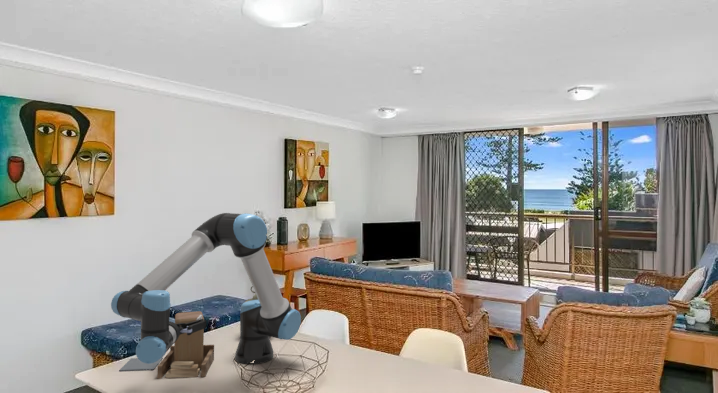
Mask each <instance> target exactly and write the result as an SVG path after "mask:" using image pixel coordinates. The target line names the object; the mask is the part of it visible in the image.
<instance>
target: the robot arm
mask: <svg viewBox="0 0 718 393" xmlns="http://www.w3.org/2000/svg"><path fill="white" fill-rule="evenodd" d="M267 234H268V228H267V225H266V223H265V221H264V220H263V218H262V217H260V216H258V215H256V214H252V213H232V212H222V213H218V214H216V215H214V216H212V217H210V218H209V219H207V220H206V221H204V222H203V223H202V224H201V225H199V226H198V227H197V228H195V230H193V231H192V232H191V237H189V239H187V240H186V241H185V242H184V243H182V244H181V245H180V246H179V247H177V249H175V250H174V251H173V253H171V254H170V255H169V256H168V257H166V258H165V259H164V260H163V261H161V263H159V264H158V265H157V266H156V267H155V268H153V270H151V271H150V272H149V273H148V274H147V275H146V276H144V277H143V278H142V279H141V280H140V281H139V282H137V283H136V284H135V285H134V286H132V287H131V289H128V290H122V291H119V292H117V293H115V295H114V296H113V298H112V299H111V303H110V307H111V310H112V312H113V313H114V314H116V315H117V316H119V317H121V318H127V319H131V320H135V321H137V322H140V340H139V341H138V343H137V345H136V347H135V355H136V356H135V357H136V358H138V359H139V360H140V361H141V362H143V363H146V364H151V363H155V362H157V361H158V360H159V359H161V358H164V356H166V354H167V353H168V351H170V347H171V346H174V343H175V342H176V340H177V339H178V338H179V335H181V334H184V333H187V335H191V334H192V333H194V332H197V331H199V330H202V329H204V330H205V329H206V328H207V320H206V319H204V320H203V319H202V315H200V316H199V317H198V318H197V319H196V321H193V322H189V323H178V324H176V323H175V322H173V321H170V317H171V316H170V315H171V314H170V312H171V307H172V306H171V295H170V294H171V293H170V292H168V290H167V289H168V288H170V287H171V286H172V285H173V284H174V283H175V282H176V281H177V280H178V279H179V278H180V277H182V276H183V275H185V273H186V272H187V271H188V270H189V269H190V268H192V266H194V265H195V264H196V263H197V262H198V261H199V260H200V259H201V258H202V257H203V256H204V255H205V254H207V253H212V252H214V251H215V249H216V248H218V247H221V246H227V247H230V248H231V251H232V253H233V255H234V257H236V258H239V259H241V262H242V265H243V267H244V270H245V271H246V274H247V276H248V278H249V280H250V283H251V287H252V286H253V287H252V289H253V291H254V292H255V293H254V294H256V295H257V297H258V300H252V301H247V302H245V301H244V302H243V303H242V304H241V306H240V314H239V315H240V317H239V320H240V321H239V322H240V324H239V331H240V332H239V333H240V335H239V336H240V337H239V342H238V345H237V347H236V350H235V354H234V357H235V358H234V360H235V361H236V362H238V363H241V364H244V365H245V364H246V365H249V364H248V363H250V362H252V361H253V360H255V361H254V364H253V365H255V364H262V363H267V362H269V361H271V360H272V359H273V358H274V348H273V345H272V342H271V338H275V339H278V340H285V341H288V340H289V341H290V340H291V339H293V338H295V336H296V335H297V333H298V332H299V329H300V327H301V323H302V316H301V313H300V311H298V309H296V308H292V305H291V304H290V302H289V300H288V299H287V298H286V297H283V295H282V292H281V289H280V288H279V285H278V283H277V279H276V277H275V274H274V271H273V269H272V268H271V264H270V262H269V260H268V257H267V254H266V252H265V249H264V248H265V246H266V240H267V238H268V236H267ZM269 336H270V337H271V338H270V337H269Z"/></svg>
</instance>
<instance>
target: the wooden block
mask: <svg viewBox="0 0 718 393" xmlns="http://www.w3.org/2000/svg"><path fill="white" fill-rule="evenodd" d="M200 315H202V319H203V320H205V318H204V315H203V312H202V311H201V310H200V311H188V312H187V311H185V312H178V313H176V314H175V315H174V323H176V324H178V323H189V322H193V321H196V319H197V318H198V317H199V316H200ZM204 330H205V328H204V329H202V330H199V331H197V332H194V333H192V334H191V335H187V333H184V334H181V335H179V338H178V339H177V340H176V342H175V343H174V344H173V346H174V361H190V362H194V364H193V365H196V364H198V368H200V370H201V364H202V363H203V345H204V337H205V336H204V334H205V332H204Z"/></svg>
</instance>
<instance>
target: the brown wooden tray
mask: <svg viewBox="0 0 718 393" xmlns="http://www.w3.org/2000/svg"><path fill="white" fill-rule="evenodd" d="M164 356H165V357H163V359H162V360H161V362H160V363H159V364H158V365H157V376H156V379H157V380H158V379H159V380H161V379H163V377H164V376H165V378H166V379H173V378H197V377H198V378H199V375H200V374H201V375H200V377H201V378H206V377H207V374H208V372H209V371H210V368H211V366H212V365H213V363H214V361H215V344H203V363H202V364H201V369H200V368H198V364H196V365H193V364H194V362H190V361H174V345H172V346H171V347H170V348H169V352H167V353H166V354H165V355H164Z"/></svg>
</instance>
